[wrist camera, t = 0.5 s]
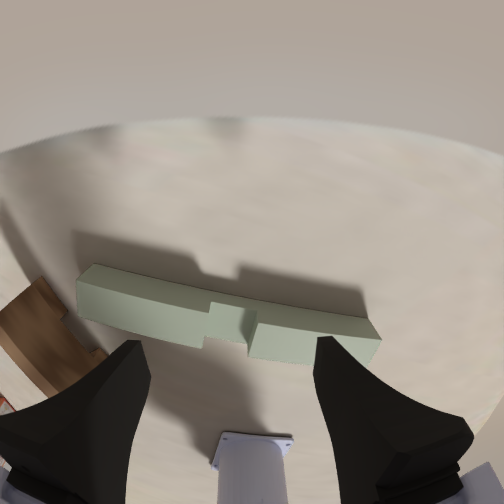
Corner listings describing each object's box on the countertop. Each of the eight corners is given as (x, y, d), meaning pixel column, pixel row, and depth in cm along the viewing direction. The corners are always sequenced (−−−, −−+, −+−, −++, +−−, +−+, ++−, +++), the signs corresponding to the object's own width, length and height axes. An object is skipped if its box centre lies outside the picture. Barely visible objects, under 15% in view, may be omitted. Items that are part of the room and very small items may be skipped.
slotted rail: (354, 347, 23) (365, 370, 21) (94, 297, 21) (78, 316, 18) (368, 318, 22) (382, 340, 20) (94, 263, 20) (75, 280, 17)
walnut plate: (127, 376, 24) (104, 432, 18) (114, 381, 24) (91, 435, 18) (41, 275, 20) (-7, 317, 14) (31, 286, 21) (-14, 326, 14)
